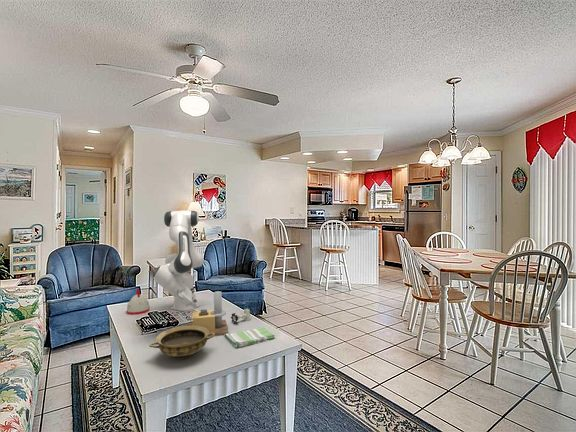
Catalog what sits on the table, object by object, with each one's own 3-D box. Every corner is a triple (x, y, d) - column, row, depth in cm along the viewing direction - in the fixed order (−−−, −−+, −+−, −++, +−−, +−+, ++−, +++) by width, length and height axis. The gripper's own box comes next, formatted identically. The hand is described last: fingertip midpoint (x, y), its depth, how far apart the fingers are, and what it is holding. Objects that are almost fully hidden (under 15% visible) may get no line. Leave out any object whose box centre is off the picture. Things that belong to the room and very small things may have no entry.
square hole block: (193, 325, 184) (192, 291, 183) (225, 321, 189) (224, 289, 188) (192, 332, 172) (192, 297, 172) (226, 329, 177) (226, 294, 177)
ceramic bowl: (211, 339, 167) (211, 321, 166) (219, 359, 145) (219, 338, 144) (150, 349, 155) (149, 330, 155) (148, 373, 133) (148, 350, 133)
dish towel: (223, 337, 170) (223, 331, 170) (261, 329, 182) (261, 323, 182) (235, 350, 155) (235, 343, 155) (275, 339, 167) (275, 333, 167)
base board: (186, 325, 186) (186, 323, 186) (225, 321, 193) (225, 319, 193) (185, 339, 167) (185, 336, 167) (228, 334, 174) (228, 331, 174)
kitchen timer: (129, 316, 204) (128, 293, 204) (124, 310, 215) (124, 289, 215) (151, 311, 213) (151, 290, 212) (146, 306, 224) (146, 286, 223)
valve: (246, 317, 200) (230, 322, 192) (246, 307, 200) (230, 312, 191) (252, 320, 195) (237, 325, 187) (252, 309, 195) (236, 314, 187)
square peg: (200, 326, 181) (200, 309, 181) (207, 326, 182) (206, 309, 182) (200, 329, 177) (200, 311, 177) (207, 328, 178) (207, 311, 178)
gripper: (181, 289, 166) (200, 305, 169) (182, 280, 185) (199, 295, 188) (172, 298, 165) (191, 314, 168) (174, 288, 184) (192, 303, 187)
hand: (196, 304), depth 178 cm, fingers open, 8 cm apart
